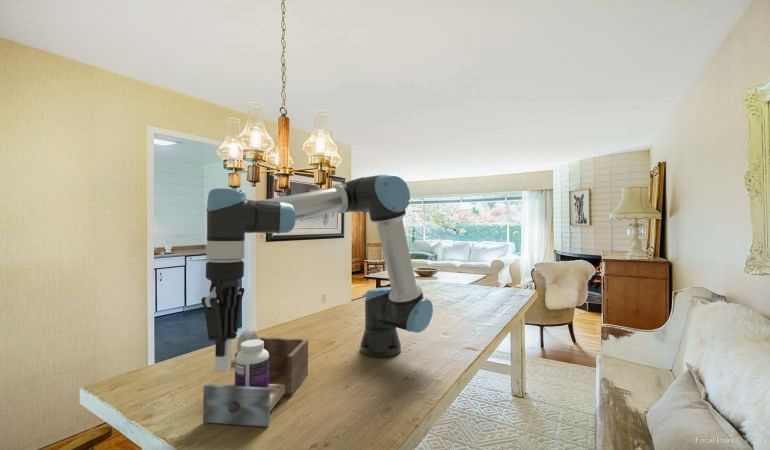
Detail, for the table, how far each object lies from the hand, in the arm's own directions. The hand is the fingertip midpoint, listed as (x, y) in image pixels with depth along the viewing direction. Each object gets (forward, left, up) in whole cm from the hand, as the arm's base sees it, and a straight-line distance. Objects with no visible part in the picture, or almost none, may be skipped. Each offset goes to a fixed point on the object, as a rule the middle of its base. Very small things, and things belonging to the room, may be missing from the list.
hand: (223, 369), depth 75 cm
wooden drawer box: (0, -26, -15) cm, 30 cm away
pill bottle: (0, -13, -13) cm, 19 cm away
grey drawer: (0, -11, -15) cm, 18 cm away
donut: (+17, -44, -15) cm, 50 cm away
